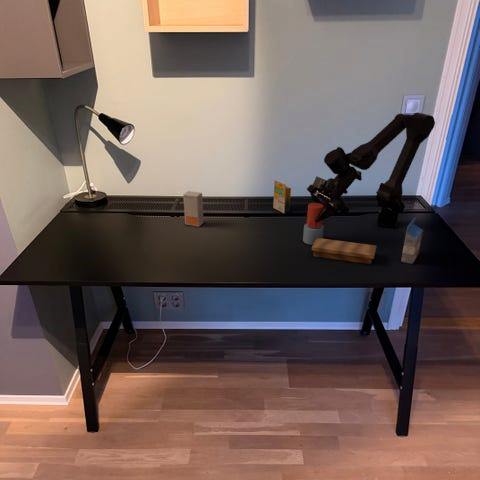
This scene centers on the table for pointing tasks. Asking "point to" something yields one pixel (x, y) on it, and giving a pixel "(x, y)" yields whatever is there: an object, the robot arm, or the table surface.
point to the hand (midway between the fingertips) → (311, 219)
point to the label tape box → (412, 243)
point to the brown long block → (344, 250)
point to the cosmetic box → (193, 208)
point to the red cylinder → (314, 215)
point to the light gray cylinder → (312, 234)
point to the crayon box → (281, 197)
